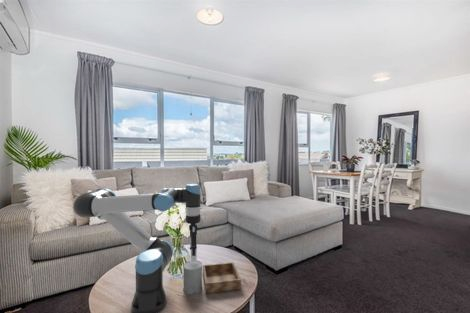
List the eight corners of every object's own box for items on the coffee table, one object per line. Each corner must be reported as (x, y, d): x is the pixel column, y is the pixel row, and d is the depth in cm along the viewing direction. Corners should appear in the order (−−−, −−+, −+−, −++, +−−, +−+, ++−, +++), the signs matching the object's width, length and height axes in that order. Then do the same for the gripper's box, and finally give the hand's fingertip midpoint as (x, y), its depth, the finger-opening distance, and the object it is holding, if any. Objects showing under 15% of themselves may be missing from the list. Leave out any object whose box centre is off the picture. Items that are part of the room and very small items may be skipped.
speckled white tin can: (198, 295, 115) (198, 270, 115) (180, 292, 117) (180, 268, 117) (204, 284, 125) (204, 261, 124) (187, 282, 126) (187, 259, 126)
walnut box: (205, 294, 116) (205, 283, 116) (202, 274, 134) (202, 265, 134) (240, 290, 120) (240, 279, 119) (233, 271, 138) (233, 262, 138)
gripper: (202, 221, 108) (202, 266, 109) (199, 208, 133) (199, 245, 133) (185, 222, 107) (185, 267, 107) (185, 208, 131) (185, 246, 132)
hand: (193, 255), depth 120 cm, fingers open, 13 cm apart
